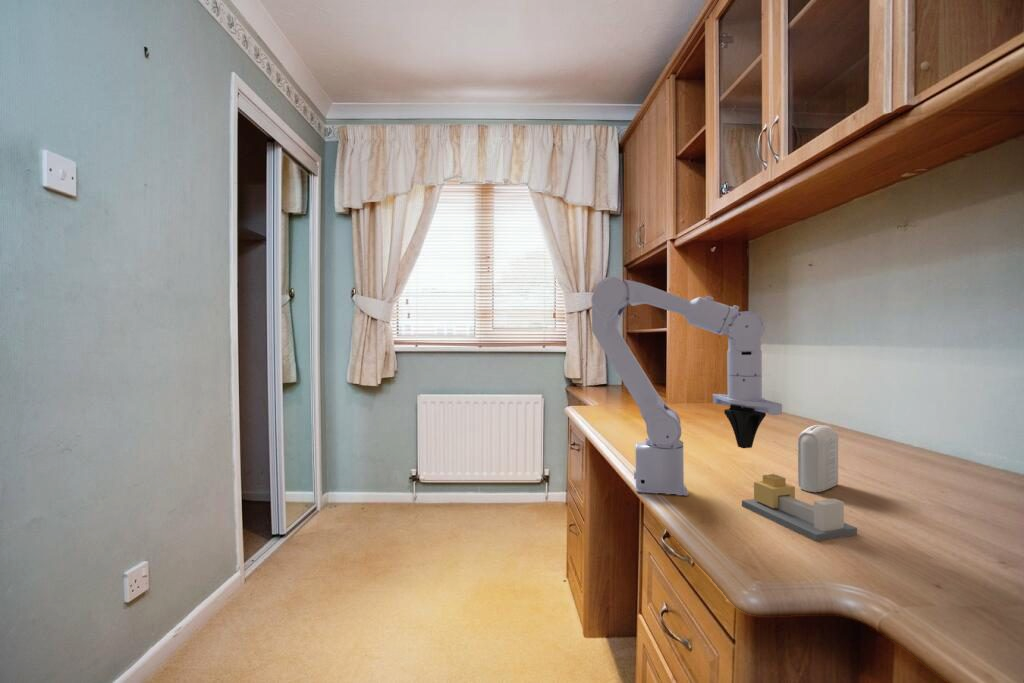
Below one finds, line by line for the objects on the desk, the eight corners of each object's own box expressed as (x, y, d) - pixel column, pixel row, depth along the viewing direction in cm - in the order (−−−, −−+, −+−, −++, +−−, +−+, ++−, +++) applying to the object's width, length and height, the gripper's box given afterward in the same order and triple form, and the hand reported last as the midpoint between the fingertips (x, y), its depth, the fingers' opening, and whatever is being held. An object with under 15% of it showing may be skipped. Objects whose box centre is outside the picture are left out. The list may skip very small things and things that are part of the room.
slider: (754, 499, 76) (753, 474, 76) (774, 497, 77) (774, 472, 77) (773, 508, 72) (773, 481, 72) (794, 505, 73) (794, 479, 73)
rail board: (741, 506, 77) (741, 478, 77) (777, 501, 79) (777, 474, 79) (816, 541, 63) (816, 507, 63) (857, 534, 65) (856, 501, 65)
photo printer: (817, 479, 91) (817, 420, 91) (841, 484, 87) (841, 424, 87) (794, 488, 85) (794, 426, 85) (819, 495, 81) (819, 430, 81)
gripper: (795, 377, 75) (796, 455, 75) (732, 371, 89) (733, 437, 89) (763, 379, 73) (763, 458, 73) (703, 372, 87) (704, 439, 87)
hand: (744, 447), depth 81 cm, fingers closed
